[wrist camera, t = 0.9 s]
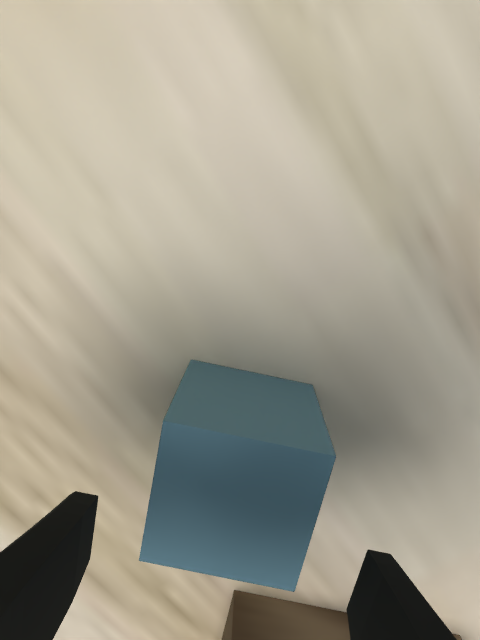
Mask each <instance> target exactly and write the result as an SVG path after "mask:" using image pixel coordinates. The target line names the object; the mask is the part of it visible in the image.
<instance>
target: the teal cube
mask: <svg viewBox="0 0 480 640" xmlns="http://www.w3.org/2000/svg"><path fill="white" fill-rule="evenodd" d="M335 458H336V454H335V451H334V448H333V445H332V442H331V439H330V436H329V433H328V430H327V427H326V424H325V421H324V418H323V415H322V412H321V409H320V406H319V403H318V400H317V397H316V394H315V391H314V388H313V385H311V384H306V383H302V382H297V381H292V380H287V379H282V378H278V377H273V376H268V375H263V374H258V373H254V372H249V371H244V370H239V369H234V368H230V367H225V366H220V365H215V364H210V363H206V362H201V361H196V360H191V361H190V363H189V365H188V367H187V369H186V372H185V374H184V376H183V378H182V380H181V383H180V385H179V387H178V389H177V391H176V394H175V396H174V398H173V400H172V402H171V405H170V407H169V409H168V411H167V413H166V416H165V418H164V420H163V425H162V431H161V436H160V442H159V448H158V454H157V459H156V465H155V471H154V477H153V483H152V488H151V494H150V500H149V506H148V512H147V517H146V523H145V529H144V535H143V540H142V546H141V552H140V558H139V561H143V562H148V563H153V564H158V565H163V566H168V567H173V568H178V569H183V570H188V571H193V572H198V573H203V574H208V575H213V576H218V577H223V578H228V579H233V580H238V581H243V582H248V583H253V584H258V585H263V586H268V587H273V588H278V589H283V590H288V591H293V592H294V591H295V588H296V585H297V582H298V578H299V575H300V572H301V569H302V565H303V562H304V559H305V556H306V552H307V549H308V546H309V543H310V539H311V536H312V533H313V530H314V527H315V523H316V520H317V517H318V514H319V510H320V507H321V504H322V501H323V497H324V494H325V491H326V488H327V484H328V481H329V478H330V475H331V471H332V468H333V465H334V462H335Z"/></svg>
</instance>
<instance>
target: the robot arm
mask: <svg viewBox="0 0 480 640" xmlns="http://www.w3.org/2000/svg"><path fill="white" fill-rule="evenodd" d="M97 502H98V496H96V495H91V494H86V493H81V492H76V491H75V492H73V493H72V494H70V495H69V496H68V497H67V498H66V499H65V500H63V501H62V502H61V503H60V504H59V505H58V506H56V507H55V508H54V509H53V510H52V511H51V512H50V513H48V514H47V515H46V516H45V517H44V518H42V519H41V520H40V521H39V522H38V523H36V524H35V525H34V526H33V527H32V528H30V529H29V530H28V531H27V532H25V533H24V534H23V535H22V536H20V537H19V538H18V539H17V540H15V541H14V542H13V543H11V544H10V545H9V546H8V547H6V548H5V549H4V550H3V551H1V552H0V640H53V638H54V636H55V634H56V632H57V630H58V628H59V626H60V625H61V623H62V621H63V619H64V617H65V615H66V613H67V611H68V609H69V607H70V605H71V603H72V601H73V599H74V597H75V594H76V592H77V589H78V587H79V585H80V582H81V580H82V577H83V575H84V572H85V570H86V567H87V565H88V562H89V560H90V555H91V547H92V540H93V532H94V525H95V517H96V510H97ZM347 616H348V624H349V633H350V640H457V639H456V638H455V637H454V635H453V634H452V633H451V632H450V630H449V629H448V628H447V627H446V625H445V624H444V623H443V621H442V620H441V619H440V618H439V616H438V615H437V614H436V612H435V611H434V610H433V609H432V607H431V606H430V605H429V603H428V602H427V601H426V599H425V598H424V597H423V596H422V594H421V593H420V592H419V590H418V589H417V588H416V586H415V585H414V584H413V582H412V581H411V580H410V579H409V577H408V576H407V575H406V573H405V572H404V571H403V569H402V568H401V567H400V566H399V564H398V563H397V562H396V560H395V559H394V558H393V557H392V555H391V554H388V553H383V552H378V551H373V550H367V553H366V556H365V559H364V561H363V564H362V567H361V570H360V573H359V576H358V578H357V581H356V584H355V587H354V590H353V593H352V595H351V598H350V601H349V604H348V607H347Z"/></svg>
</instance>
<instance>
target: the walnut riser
mask: <svg viewBox="0 0 480 640" xmlns="http://www.w3.org/2000/svg"><path fill="white" fill-rule="evenodd" d="M453 635H454V637H455V638H456V639H457V640H462V639H461V637H460V635H456V634H453ZM222 640H350V633H349V624H348V616H347V613H346V612H341V611H336V610H331V609H326V608H321V607H316V606H311V605H306V604H301V603H296V602H291V601H286V600H281V599H276V598H271V597H266V596H261V595H256V594H251V593H246V592H241V591H236V590H234V593H233V597H232V601H231V605H230V609H229V613H228V617H227V621H226V625H225V629H224V632H223V636H222Z"/></svg>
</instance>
